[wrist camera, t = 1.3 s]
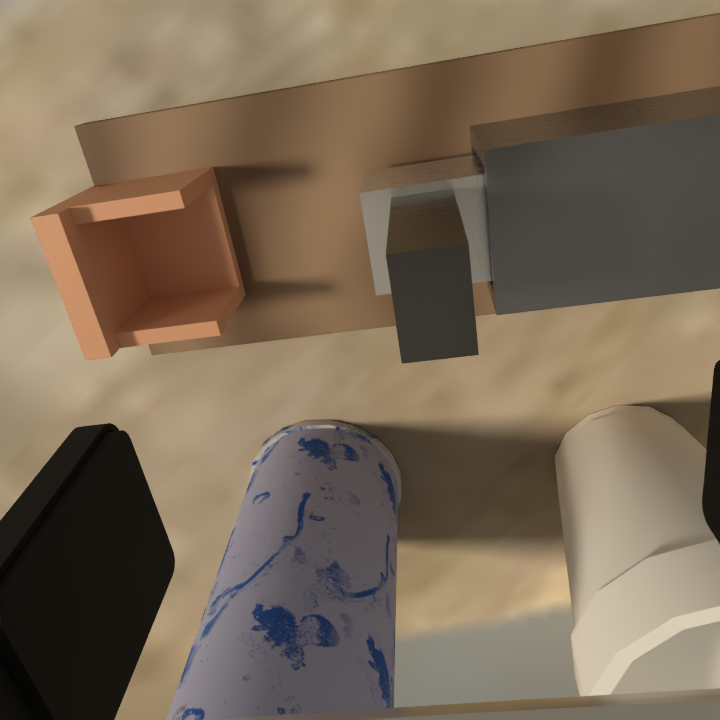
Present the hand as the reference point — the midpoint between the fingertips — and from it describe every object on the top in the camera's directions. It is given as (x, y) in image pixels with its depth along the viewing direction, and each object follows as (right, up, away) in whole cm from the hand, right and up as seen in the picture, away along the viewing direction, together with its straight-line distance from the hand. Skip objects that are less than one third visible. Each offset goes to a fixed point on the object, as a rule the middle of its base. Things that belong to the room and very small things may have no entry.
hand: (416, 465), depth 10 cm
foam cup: (+12, -3, +21) cm, 25 cm away
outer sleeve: (+10, +9, +14) cm, 19 cm away
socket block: (-9, +7, +16) cm, 20 cm away
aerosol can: (-3, -5, +23) cm, 24 cm away
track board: (+3, +8, +16) cm, 18 cm away
